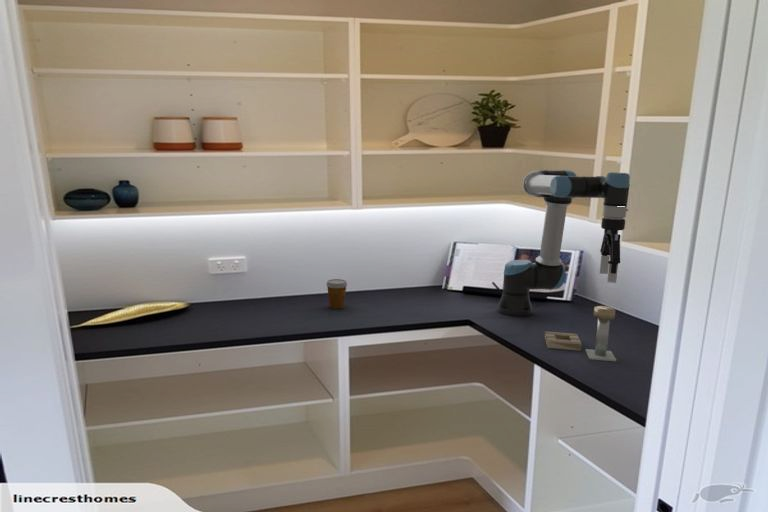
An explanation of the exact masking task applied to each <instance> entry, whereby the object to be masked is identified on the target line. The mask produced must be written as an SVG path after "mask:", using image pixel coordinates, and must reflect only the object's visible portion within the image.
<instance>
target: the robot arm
mask: <svg viewBox="0 0 768 512" xmlns="http://www.w3.org/2000/svg"><path fill="white" fill-rule="evenodd" d="M630 177H631V176H630V174H629V173H627V172H611V171H610V172H608V173H607V174H606V176H604V175H600V176H599V175H596V176H584V175H583V176H579V175H577V173H576V172H574V171H573V170H567V169H566V170H565V169H536V170H533V171H530V172H528V173H527V174H526V175H525V176H524V178H523V179H522V189H523V191H524V192H525V193H526V194H527V195H529V196H532V197H534V198H535V197H536V198H543V202H544V203H545V204H546V205H545V214H544V220H543V221H544V222H543V229H542V236H541V243H540V252H539V256H537V257H535V261H534V263H532V261H531V260H529V259H513V260H510V261H507V262H506V263H505V265H504V270H503V283H502V284H503V285H502V295H501V298H500V300H499V302H498V305H497V311H498V312H499V313H501V314H503V315H506V316H512V317H527V316H529V315H531V314H532V313H533V307H532V302H531V299H530V290H548V291H550V290H557V289H558V290H559V289H560V288H561V287H563V285H564V283H565V280H566V277H567V276H566V275H567V274H566V269H567V268H566V267H565V265H564V264H563V261H562V260H561V258H560V256H561V249H562V244H563V243H562V242H563V236H564V230H565V222H566V217H567V216H566V215H567V212H568V211H567V210H568V206H569V205H571V204H572V201H573V199H575V198H589V199H595V198H596V199H603V204H602V213H601V214H602V218H601V224H600V225H601V227H600V228H601V229H602V230H604V231H603V237H602V241H601V247H600V249H599V251H600V264H599V265H600V266H599V274H601V275H603V274H604V275H607V279H606V280H607V283H614V284H616V283H617V278H618V269H619V264H620V263H621V237H622V236H621V234H618V233H619V231H624V230H625V228H626V227H625V226H626V219H625V218H626V215H627V212H628V211H629V208H627V206H628V200H629V199H628V198H629V191H630V186H631V185H630V184H631V183H630V179H631V178H630ZM629 183H630V184H629ZM617 206H625V207H617Z"/></svg>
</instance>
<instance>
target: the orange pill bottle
mask: <svg viewBox="0 0 768 512" xmlns="http://www.w3.org/2000/svg"><path fill="white" fill-rule="evenodd" d="M326 286H327V294H328V302H329V308H330V309H334V310H335V309H337V310H338V309H343V308H344V305H345V298H346V292H347V286H348V283H347V280H345V279H342V278H341V279H340V278H336V279H335V278H334V279H333V278H332V279H328V280H327V281H326Z"/></svg>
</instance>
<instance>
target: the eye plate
mask: <svg viewBox="0 0 768 512" xmlns="http://www.w3.org/2000/svg"><path fill="white" fill-rule="evenodd" d="M544 340H545V343H546V346H547V349H556V350H557V349H558V350H567V351H568V350H569V351H579V352H580V351H582V347H583V346H582V345H583V343H582V341H581V340H580V338H579V336H578V334H577V333H571V332H570V333H568V332H556V331H555V332H554V331H544Z"/></svg>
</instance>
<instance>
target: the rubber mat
mask: <svg viewBox="0 0 768 512" xmlns="http://www.w3.org/2000/svg"><path fill="white" fill-rule="evenodd" d="M584 351H585V353H586V355H587V358H588V359H589V360H592V361H605V362H616V363H617V358H616V357H615V355H614V353H613V351H611V350H607V354H606V356H598V355H595V349H590V348H589V349H588V348H585V350H584Z"/></svg>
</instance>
